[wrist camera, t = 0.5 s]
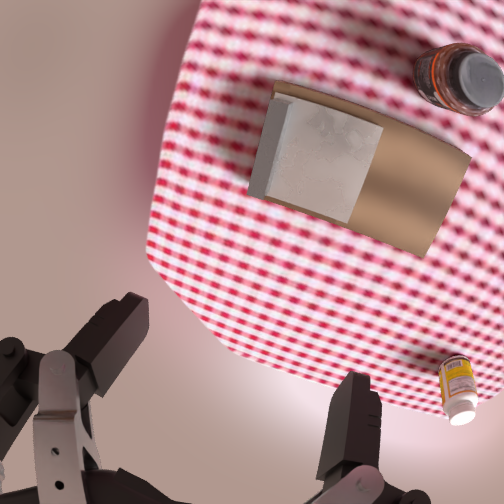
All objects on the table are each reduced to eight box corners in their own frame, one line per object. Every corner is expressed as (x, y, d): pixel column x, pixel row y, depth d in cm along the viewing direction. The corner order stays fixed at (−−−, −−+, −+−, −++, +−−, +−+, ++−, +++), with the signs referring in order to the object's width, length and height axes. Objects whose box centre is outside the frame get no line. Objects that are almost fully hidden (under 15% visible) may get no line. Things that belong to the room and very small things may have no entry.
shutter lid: (277, 91, 26) (269, 93, 24) (382, 126, 25) (386, 132, 23) (252, 187, 32) (243, 198, 29) (347, 220, 31) (346, 234, 28)
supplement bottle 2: (453, 379, 42) (460, 431, 33) (431, 370, 42) (436, 424, 33) (476, 359, 38) (487, 412, 30) (454, 349, 39) (464, 404, 30)
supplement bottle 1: (423, 113, 26) (459, 129, 17) (402, 57, 24) (431, 45, 15) (472, 101, 24) (524, 114, 14) (453, 46, 21) (500, 34, 12)
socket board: (281, 80, 29) (275, 80, 26) (462, 150, 26) (471, 157, 24) (254, 184, 35) (246, 193, 33) (418, 244, 33) (423, 258, 31)
